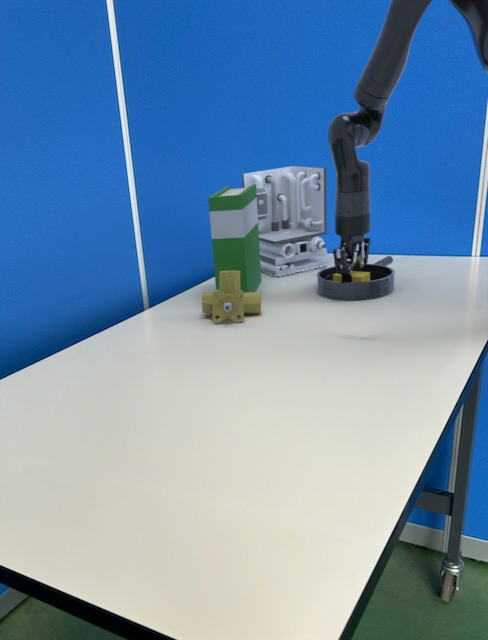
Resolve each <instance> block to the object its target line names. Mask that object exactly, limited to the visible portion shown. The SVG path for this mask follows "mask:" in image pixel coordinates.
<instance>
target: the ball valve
mask: <svg viewBox="0 0 488 640" xmlns="http://www.w3.org/2000/svg"><path fill="white" fill-rule="evenodd" d="M201 298H202V300H201V308H202V309H201V310H202V313H203V314H212V317H211V318H212V322H214V323H215V324H219V323H221V322H222V321H223V320H226V319H229V320H230V321H233V322H235V323H244V320H245V314H258V315H259V314H262V291H255V292H245V293H244V292H243V291H242V290H240V271H235V270H233V271H220V272H219V290H218V289H216V288H215V289H214V290H213V291H208V292H202V297H201ZM238 316H240V318H238Z"/></svg>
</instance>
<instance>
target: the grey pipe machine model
mask: <svg viewBox="0 0 488 640" xmlns="http://www.w3.org/2000/svg"><path fill="white" fill-rule="evenodd" d="M241 176H242V179H241V180H242V188H248V187H249V186H251V185H252V184H256V193H257V211H258V230H259V248H260V267H261V271H264V272H266V273H269V274H272V275H274V276H279V275H283V274H288V273H292V272H297V271H301V270H306V269H311V268H316V267H320V266H325V265H327V266H326V267H325V268H328V260H327V259H323V258H319V257H322V256H327V255H328V248H326V247H327V245H326V242H325V241H324V239H323V238H322V237H320V236H325V235H327V234H328V216H327V215H328V212H327V211H328V207H327V203H328V202H327V201H328V200H327V167H319V166H317V167H316V166H302V165H289V166H283V167H275V168H270V169H263V170H257V171H252V172H245V173H241ZM318 269H319V268H317V269H316V270H318ZM309 271H310V270H308V271H307V272H309ZM304 272H305V271H303V272H302V273H304ZM266 273H264V275H265V274H266ZM295 274H296V273H294V274H293V275H295ZM266 275H267V274H266ZM290 275H291V274H289V275H288V276H290ZM274 276H272V277H274ZM286 276H287V275H285V276H284V277H286ZM281 277H282V276H280V277H279V278H281ZM274 278H275V277H274Z"/></svg>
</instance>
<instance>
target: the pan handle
mask: <svg viewBox="0 0 488 640" xmlns="http://www.w3.org/2000/svg"><path fill="white" fill-rule="evenodd" d="M393 262H394V258H393V257H392V256H391V255H388V256H385V257H383V258H382V259H380V260H378V261H376V262H375V263H373V264H378V265H383V266H387V267H388V266H390V265H391V264H392V263H393Z"/></svg>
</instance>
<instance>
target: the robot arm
mask: <svg viewBox="0 0 488 640" xmlns="http://www.w3.org/2000/svg"><path fill="white" fill-rule="evenodd" d="M433 1H434V0H391V1H390V4H389V6H388V9H387V13H386V15H385V17H384V18H385V19H384V21H383V24H382V27H381V29H380V32H379V34H378V37H377V40H376V42H375V44H374V47H373V48H372V50H371V53H370V55H369V58H368V60H367V62H366V64H365V65H364V68H363V70H362V72H361V75H360V76H359V78H358V81H357V83H356V85H355V88H354V90H353V99H354V100H355V102H356V104H358V106H359V107H358V109H357V110H356V111H351V112H343V113H339V114H337V115H335V116H334V117H333V118H332V120H331V122H330V124H329V127H328V131H327V140H328V146H329V149H330V154H331V158H332V162H333V166H334V169H335V199H334V234H335V235H336V236H339V238H340V242H339V247H338V248H334V249H333V250H332V254H333V261H334V266H335V268H336V273H337V274H341V275H342V282H352V271H360V272H362V269H363V268H364V264H368V262H369V261H368V260H369V255H370V254H369V253H370V247H371V237H365V235H367V234H368V233H370V232H371V205H372V204H371V191H370V190H371V188H370V187H371V186H370V185H371V184H370V183H371V182H370V181H371V166H370V164H369V162H368V161H367V160H365V159H359V157H358V154H357V149H358V148H363V147H367V146H369V145H371V143H373V142H374V141H375V140H376V138H377V137H378V135H379V133H380V131H381V129H382V124H383V121H384V117H385V114H386V109H387V105H388V102H389V100H390V98H391V97H392V94H393V92H395V91H394V90H395V89H396V87H397V85H398V83H399V81H400V79H401V77H402V75H403V74H404V71H405V68H406V66H407V62H408V59H409V55H410V50H411V46H412V42H413V38H414V36H415V33H416V30H417V28H418V25H419V23H420V21H421V20H422V17H423V16H424V14H425V13H426V11H427V9H428V8H429V7H430V5H431V4H432V2H433ZM447 2H449V3H450V4H451V5H452V6H453V7H454V9H455V10H456V11H457V12H458V13H459V14H460V16H461V17H462V19H463V20H464V22H465V23H466V25H467V27H468V30H469V32H470V36H471V40H472V44H473V46H474V50H475V54H476V56H477V59H478V61H479V63H480V65H481V67H482V69H483V70H484V71H485V73H486V74H487V75H488V0H447ZM348 264H349V268H348ZM340 265H341V268H340ZM353 268H354V269H353Z"/></svg>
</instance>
